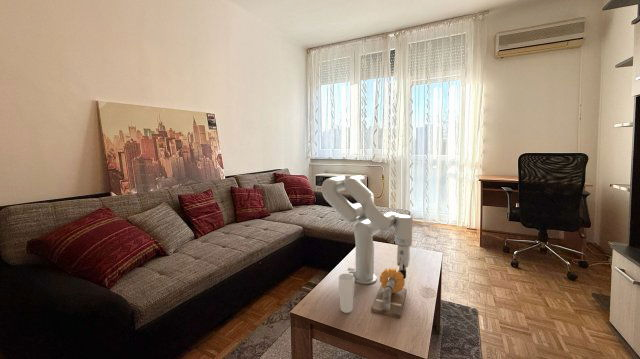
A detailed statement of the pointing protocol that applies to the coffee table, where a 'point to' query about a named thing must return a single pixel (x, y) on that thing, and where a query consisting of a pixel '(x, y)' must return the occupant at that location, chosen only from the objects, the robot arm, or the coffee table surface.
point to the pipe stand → (389, 300)
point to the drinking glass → (346, 292)
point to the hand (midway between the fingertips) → (402, 277)
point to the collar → (396, 275)
